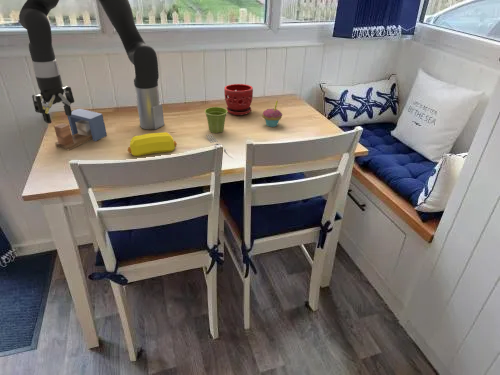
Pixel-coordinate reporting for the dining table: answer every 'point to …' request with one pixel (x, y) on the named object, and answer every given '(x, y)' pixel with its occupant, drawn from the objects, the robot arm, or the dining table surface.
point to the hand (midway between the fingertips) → (59, 119)
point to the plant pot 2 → (238, 98)
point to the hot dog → (151, 144)
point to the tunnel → (94, 122)
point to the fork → (213, 139)
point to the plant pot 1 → (216, 118)
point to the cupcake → (272, 116)
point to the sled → (70, 140)
